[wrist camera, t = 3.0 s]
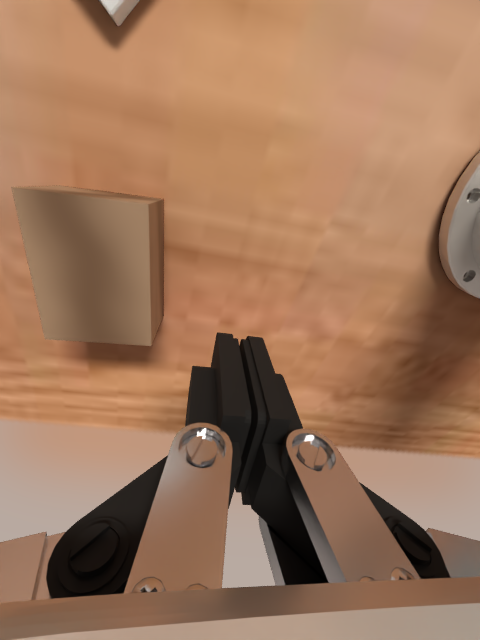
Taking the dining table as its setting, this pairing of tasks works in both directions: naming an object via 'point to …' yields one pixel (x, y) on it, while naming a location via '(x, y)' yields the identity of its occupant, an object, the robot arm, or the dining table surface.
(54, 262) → the walnut block
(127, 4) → the external hard drive
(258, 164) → the dining table surface
